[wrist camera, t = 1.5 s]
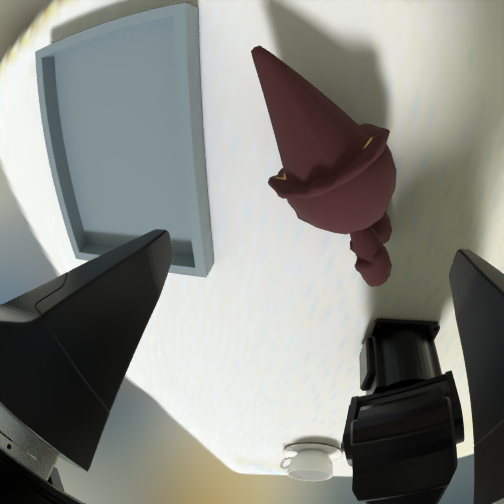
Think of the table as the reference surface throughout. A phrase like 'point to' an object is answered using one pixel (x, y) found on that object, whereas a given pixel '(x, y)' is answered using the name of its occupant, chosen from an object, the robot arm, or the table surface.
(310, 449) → the teacup
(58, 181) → the tray
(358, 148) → the icecream
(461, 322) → the robot arm
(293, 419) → the table surface
